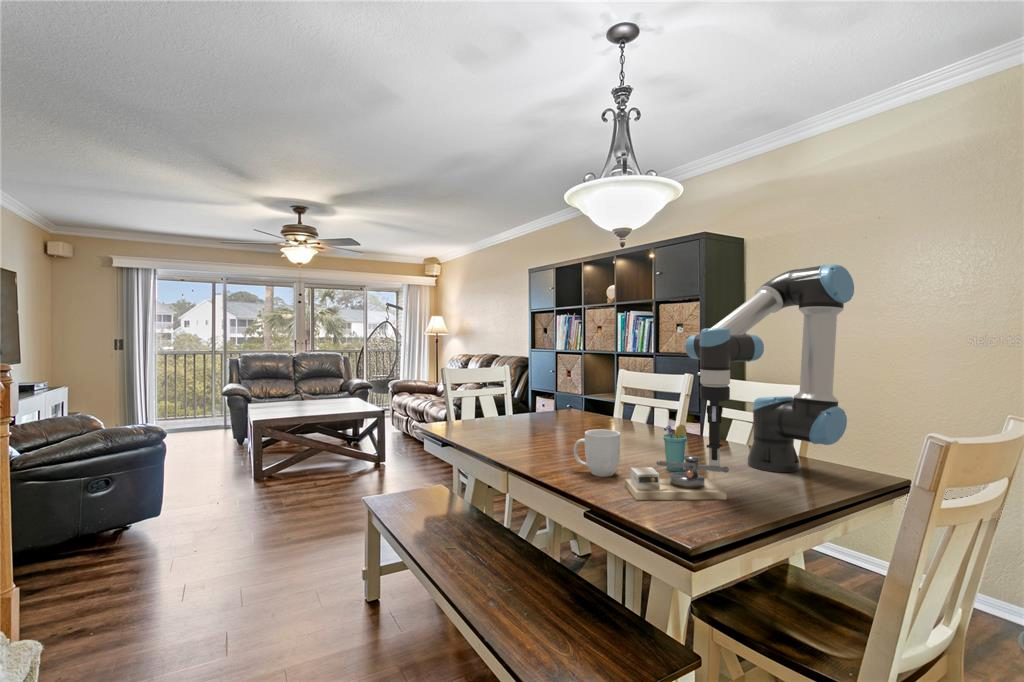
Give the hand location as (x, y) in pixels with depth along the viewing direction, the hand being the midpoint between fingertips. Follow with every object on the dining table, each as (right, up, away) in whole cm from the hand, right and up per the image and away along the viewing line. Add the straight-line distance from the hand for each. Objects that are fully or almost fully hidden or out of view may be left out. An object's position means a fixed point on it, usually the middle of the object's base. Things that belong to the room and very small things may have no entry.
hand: (714, 471), depth 133 cm
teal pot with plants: (-3, -6, +25) cm, 26 cm away
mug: (-28, -7, +20) cm, 35 cm away
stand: (-11, -6, +1) cm, 12 cm away
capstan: (-6, -4, +2) cm, 7 cm away
